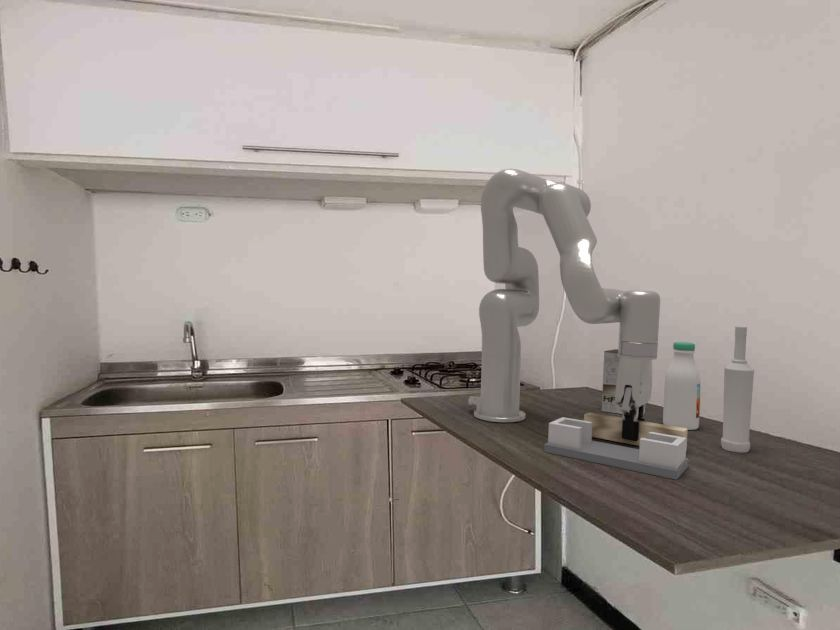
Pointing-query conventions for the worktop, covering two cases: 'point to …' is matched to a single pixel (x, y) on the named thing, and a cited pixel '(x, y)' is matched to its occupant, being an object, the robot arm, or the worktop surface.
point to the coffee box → (610, 382)
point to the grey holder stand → (618, 449)
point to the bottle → (737, 398)
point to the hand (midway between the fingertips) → (632, 437)
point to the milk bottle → (682, 389)
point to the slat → (612, 428)
